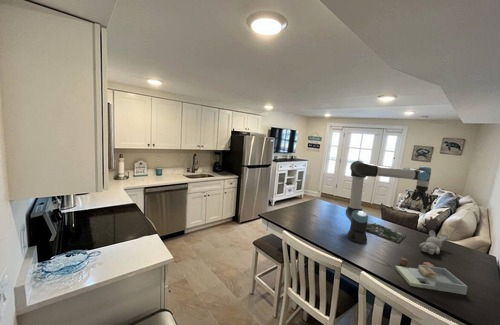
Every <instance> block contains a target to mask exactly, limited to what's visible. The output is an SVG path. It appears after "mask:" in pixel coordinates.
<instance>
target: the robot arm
mask: <svg viewBox="0 0 500 325" xmlns="http://www.w3.org/2000/svg"><path fill="white" fill-rule="evenodd" d="M349 169H350V171H351V173H350V176H351V179H352V180H351V190H350V197H349V200H350V201H349V204H348V205H347V207H346V209H345V215H346V218H348V220H349V222H350V225H349V230H348V232H347V234H346V239H347V240H348V241H350V242H352V243H354V244H357V245H359V244H360V245H366V244H367V242H368V236H367V232H366V228H367V223H368V221H369V216H368V214H367V213H366V212H365V211H363V207H362V196H363V188H364V179H366V178H367V177H373V178H376V177H384V178H393V179H394V178H395V179H403V180H412V181H413V180H414V181H416V186H415V189H414V191H413V193H412V195H411V196H410V199H411V205H410V208H413V209H415V208H416V206H417V199H419V197H420V199H421V201H422V203H421V204H422V205H421V209H420V214H426V210H427V207H429V206H430V200H429V193H427V192H428V190H429V184H430V180H431V174H432V168H431V167H429V166H419V168H415V167H414V168H412V167H403V168H398V167H390V166H389V167H387V166H378V165H377V164H372V163H368V162H364V161H363V160H354V161H353V162H352V163H351V164H350V168H349Z"/></svg>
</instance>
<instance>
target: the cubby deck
mask: <svg viewBox="0 0 500 325" xmlns="http://www.w3.org/2000/svg"><path fill="white" fill-rule="evenodd" d="M417 266H418V267H417V268H413V267H408V266H407V267H401V266H400V265H395V267H394V268H395V270H396V271H397V272H398V273H399V275H400V276H401V277H402V278H403V279H404V281H405V282H406V283H407V284H408V285H409V286H410V287H415V288H421V289H428V290H434V291H439V292H447V293H452V294H458V295H459V294H460V295H464V296H466V295H467V292H468V287H469V286H467V284H465V283H464V282H463V281H462V280H461V279H459V278H458V277H457V276H456V275H455V274H453V273H452V272H450V271H449V270H448V269H446V268H445V267H438V266H434V267H432V266H425V265H423V264H417ZM419 266H421V267H428V268H430V269H431V270H433V271H434V272H435V273H436V279H435V278H428V277H424V276H423V275H422V274H421V273H420V272H419V271H418V268H419Z"/></svg>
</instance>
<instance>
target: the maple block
mask: <svg viewBox="0 0 500 325" xmlns="http://www.w3.org/2000/svg"><path fill="white" fill-rule="evenodd" d="M417 269H418V271H419V272H420V273H421V274H422V275H423V276H424V277H428V278H435V279H436V273H435V272H434V271H433V270H431V269H430V268H428V267H421V266H419V268H418V267H417Z"/></svg>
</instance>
